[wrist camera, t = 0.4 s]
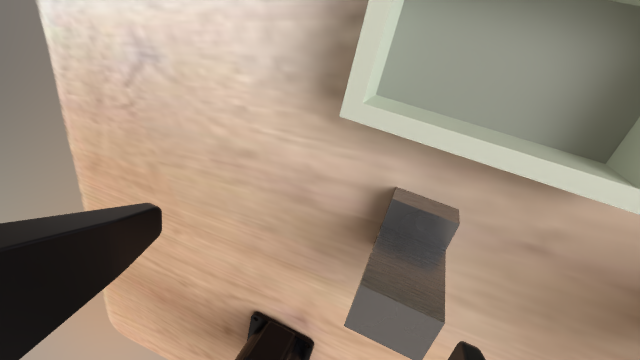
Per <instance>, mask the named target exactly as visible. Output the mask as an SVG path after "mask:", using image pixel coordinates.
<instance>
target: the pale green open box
mask: <svg viewBox="0 0 640 360" xmlns="http://www.w3.org/2000/svg"><path fill="white" fill-rule="evenodd" d="M339 117H342V118H345V119H348V120H352V121H355V122H358V123H361V124H364V125H367V126H370V127H373V128H376V129H379V130H382V131H385V132H388V133H391V134H394V135H397V136H400V137H403V138H406V139H410V140H413V141H416V142H419V143H422V144H425V145H428V146H431V147H434V148H437V149H440V150H443V151H446V152H449V153H452V154H455V155H458V156H461V157H464V158H468V159H471V160H474V161H477V162H480V163H483V164H486V165H489V166H492V167H495V168H498V169H501V170H504V171H507V172H510V173H513V174H516V175H519V176H522V177H526V178H529V179H532V180H535V181H538V182H541V183H544V184H547V185H550V186H553V187H556V188H559V189H562V190H565V191H568V192H571V193H574V194H577V195H581V196H584V197H587V198H590V199H593V200H596V201H599V202H602V203H605V204H608V205H611V206H614V207H617V208H620V209H623V210H626V211H629V212H632V213H635V214H639V215H640V0H369V2H368V5H367V9H366V13H365V17H364V21H363V25H362V29H361V33H360V37H359V41H358V45H357V49H356V52H355V56H354V60H353V64H352V68H351V72H350V76H349V80H348V84H347V88H346V92H345V96H344V99H343V103H342V107H341V111H340V115H339Z"/></svg>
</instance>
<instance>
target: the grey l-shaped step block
mask: <svg viewBox="0 0 640 360" xmlns="http://www.w3.org/2000/svg"><path fill="white" fill-rule="evenodd" d="M459 224H460V222H459V210H458V209H455V208H452V207H450V206H447V205H444V204H442V203H439V202H436V201H433V200H431V199H428V198H425V197H422V196H420V195H417V194H414V193H412V192H409V191H406V190H403V189H401V188H398V187H396V190H395V192H394V195H393V197H392V200H391V203H390V205H389V208H388V210H387V213H386V215H385V218H384V221H383V223H382V226H381V228H380V231H379V233H378V236H377V239H376V241H375V244H374V246H373V249H372V252H371V254H370V257H369V260H368V262H367V265H366V268H365V271H364V273H363V276H362V279H361V281H360V284H359V287H358V289H357V292H356V295H355V297H354V300H353V303H352V305H351V308H350V311H349V313H348V316H347V319H346V321H345V324H344V326H345V327H347V328H349V329H351V330H353V331H355V332H357V333H359V334H361V335H363V336H365V337H368V338H370V339H372V340H374V341H376V342H378V343H380V344H382V345H384V346H386V347H388V348H390V349H392V350H394V351H396V352H398V353H400V354H402V355H404V356H406V357H408V358H410V359H412V360H422V359H423V358H424V356H425V354H426V353H427V351H428V349H429V348H430V346H431V345H432V343H433V341H434V340H435V338H436V337H437V335H438V333H439V332H440V330H441V329H442V327H443V325H444V324H445V254H446V249H447V247H448V245H449V243H450V241H451V239H452V237H453V236H454V234H455V232H456V230H457V228H458V226H459Z"/></svg>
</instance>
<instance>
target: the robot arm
mask: <svg viewBox="0 0 640 360" xmlns="http://www.w3.org/2000/svg"><path fill="white" fill-rule="evenodd" d="M161 231H162V211H161V209H160V208H159V207H158V206H155V205H153V204H151V203H142V204H135V205H128V206H121V207H114V208H107V209H100V210H93V211H86V212H80V213H72V214H64V215H58V216H50V217H43V218H37V219H30V220H22V221H16V222H8V223H1V224H0V360H19V359H20V358H22V357H23V356H24V355H25V354H26V353H28V352H29V351H30V350H31V349H33V348H34V347H35V346H36V345H37V344H38V343H40V342H41V341H42V340H43V339H44V338H46V337H47V336H48V335H49V334H50V333H51V332H53V331H54V330H55V329H56V328H57V327H59V326H60V325H61V324H62V323H63V322H65V321H66V320H67V319H68V318H69V317H71V316H72V315H73V314H74V313H75V312H76V311H78V310H79V309H80V308H81V307H83V306H84V305H85V304H86V303H87V302H88V301H90V300H91V299H92V298H93V297H94V296H96V295H97V294H98V293H99V292H100V291H102V290H103V289H104V288H105V287H106V286H108V285H109V284H110V283H111V282H112V281H113V280H115V279H116V278H117V277H118V276H119V275H120V274H121V273H122V272H124V271H125V270H126V269H127V268H128V267H129V266H130V265H131V264H132V263H133V262H134V261H135V260H136V259H137V258H138V257H139V256H140V255H141V254H142V253H143V252H144V251H145V250H146V249H147V248H148V247H149V246H150V245H151V244H152V243H153V242H154V241H155V240H156V239H157V238H158V237H159V235H160V233H161ZM313 348H314V342H313V341H312V340H311V339H309V338H307V337H305V336H303V335H301V334H299V333H297V332H295V331H294V330H292V329H290V328H288V327H286V326H284V325H282V324H280V323H278V322H276V321H274V320H272V319H270V318H268V317H266V316H265V315H263V314H261V313H259V312H254V313H253V315H252V316H251V322H250V327H249V333H248V339H247V343H246V344H245V346H244V347H243V349H242V350H241V351H240V353H239V354H238V356H237V357H236V359H235V360H309V359H310V356H311V353H312V350H313ZM448 360H486V359H485V358H484V356H483V354H482V353H481V351H480V350H479V349H478V348H477V347H475V346H473V345H471V344H468V343H466V342H464V341H461V342H459V343H458V344H457V346H456V347H455V349H454V351H453V352H452V354H451V355H450V357H449V359H448Z"/></svg>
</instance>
